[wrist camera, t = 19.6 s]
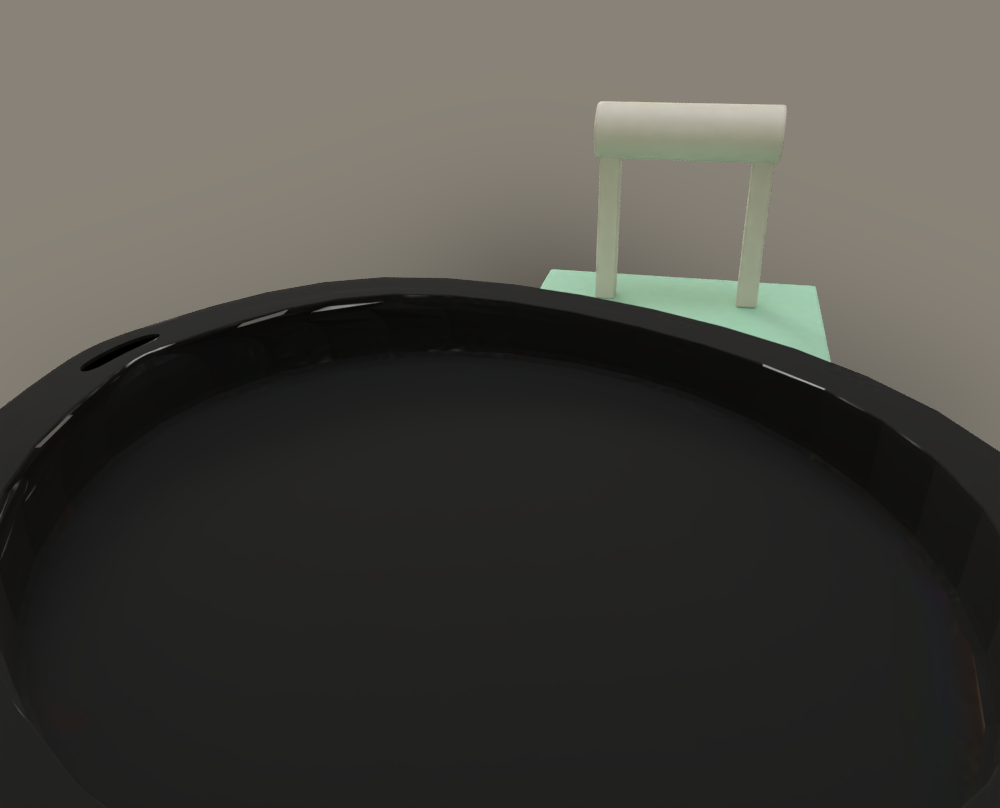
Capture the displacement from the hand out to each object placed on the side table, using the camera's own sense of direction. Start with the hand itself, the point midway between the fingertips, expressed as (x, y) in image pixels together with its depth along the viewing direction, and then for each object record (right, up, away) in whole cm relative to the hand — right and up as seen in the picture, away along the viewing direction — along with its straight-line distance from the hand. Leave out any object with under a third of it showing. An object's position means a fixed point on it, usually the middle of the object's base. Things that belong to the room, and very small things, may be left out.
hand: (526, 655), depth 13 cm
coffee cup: (0, -10, 0) cm, 10 cm away
